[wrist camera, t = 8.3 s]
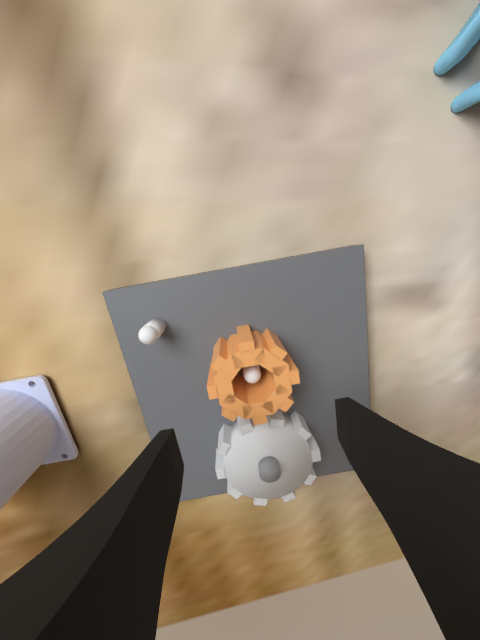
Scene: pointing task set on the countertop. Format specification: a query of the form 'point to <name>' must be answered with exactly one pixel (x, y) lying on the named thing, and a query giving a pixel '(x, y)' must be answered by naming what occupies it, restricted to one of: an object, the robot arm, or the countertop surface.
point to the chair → (458, 49)
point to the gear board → (249, 367)
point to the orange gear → (251, 396)
